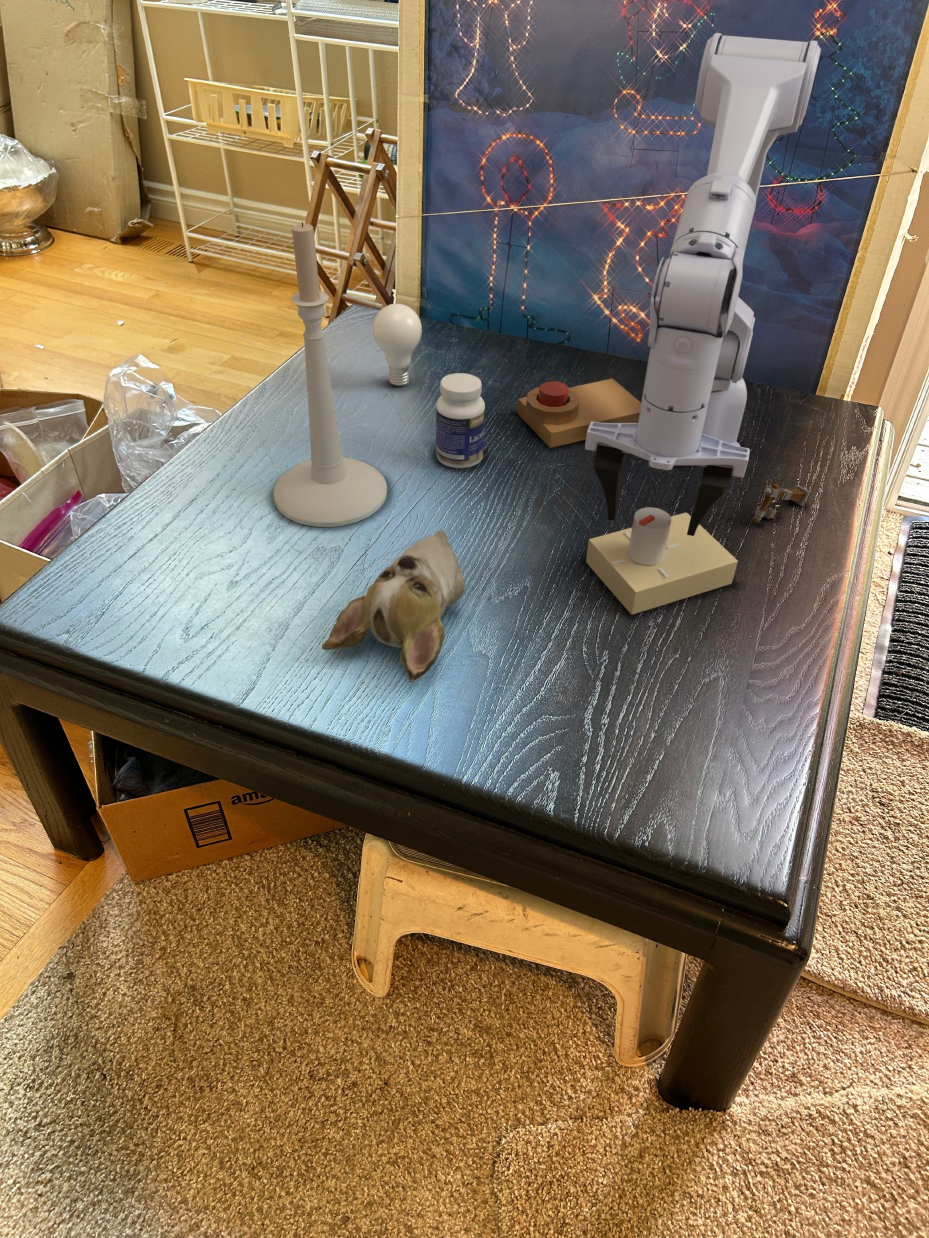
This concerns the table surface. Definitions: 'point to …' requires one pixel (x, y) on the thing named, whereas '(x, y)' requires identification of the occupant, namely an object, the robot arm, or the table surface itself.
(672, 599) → the rotary dial block
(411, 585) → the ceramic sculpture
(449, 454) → the pill bottle
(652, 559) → the tap knob
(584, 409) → the button block
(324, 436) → the candlestick
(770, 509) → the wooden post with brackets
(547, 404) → the stop button
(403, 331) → the lightbulb
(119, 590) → the table surface
